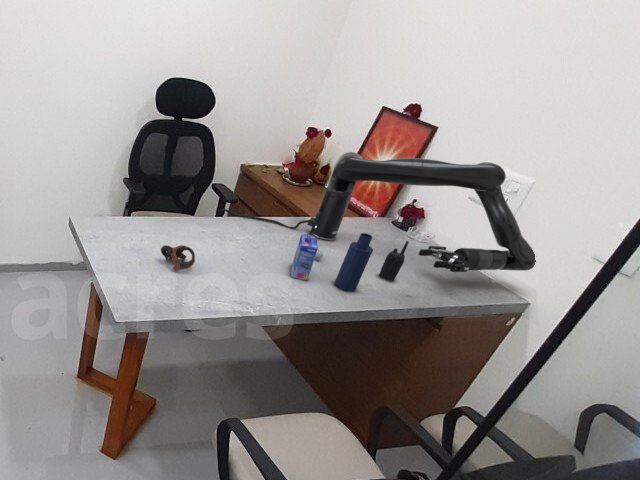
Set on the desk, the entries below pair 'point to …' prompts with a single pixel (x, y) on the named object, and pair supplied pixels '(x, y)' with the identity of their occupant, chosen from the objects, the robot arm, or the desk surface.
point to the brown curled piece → (178, 256)
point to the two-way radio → (393, 264)
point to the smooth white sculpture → (318, 255)
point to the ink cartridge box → (304, 257)
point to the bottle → (354, 264)
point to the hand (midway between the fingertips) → (427, 258)
